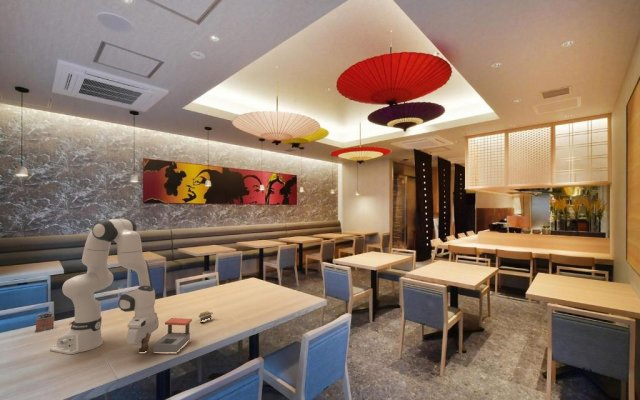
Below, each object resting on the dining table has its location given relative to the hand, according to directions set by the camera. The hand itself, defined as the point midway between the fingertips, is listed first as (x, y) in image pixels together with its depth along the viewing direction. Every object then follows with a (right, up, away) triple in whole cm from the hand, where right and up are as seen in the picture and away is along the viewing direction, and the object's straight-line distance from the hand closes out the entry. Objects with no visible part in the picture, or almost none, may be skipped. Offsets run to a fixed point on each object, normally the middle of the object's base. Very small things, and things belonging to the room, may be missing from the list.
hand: (143, 345), depth 149 cm
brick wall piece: (-74, -3, +24) cm, 78 cm away
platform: (+15, -6, +42) cm, 45 cm away
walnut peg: (0, -4, 0) cm, 4 cm away
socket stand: (+12, -4, +5) cm, 14 cm away
